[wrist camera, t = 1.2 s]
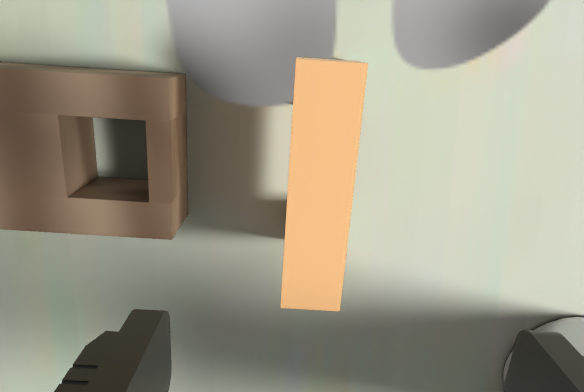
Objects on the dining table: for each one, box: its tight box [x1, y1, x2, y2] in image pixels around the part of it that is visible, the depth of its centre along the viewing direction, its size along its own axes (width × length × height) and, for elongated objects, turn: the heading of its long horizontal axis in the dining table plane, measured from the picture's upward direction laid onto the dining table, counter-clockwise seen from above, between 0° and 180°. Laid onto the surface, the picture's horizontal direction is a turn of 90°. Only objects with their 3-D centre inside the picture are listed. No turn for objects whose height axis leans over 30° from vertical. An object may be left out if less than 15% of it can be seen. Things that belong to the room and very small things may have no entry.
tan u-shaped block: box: [280, 57, 368, 311], centre depth 24 cm, size 12×3×8 cm, turn 176°
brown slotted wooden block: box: [0, 62, 188, 240], centre depth 26 cm, size 16×9×4 cm, turn 86°
